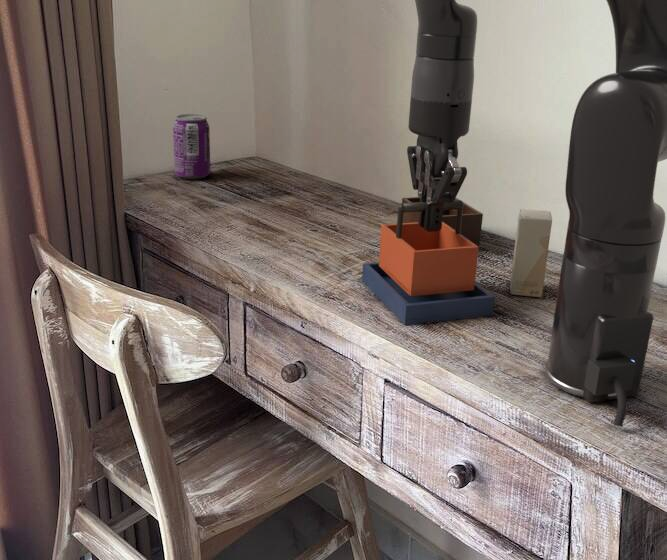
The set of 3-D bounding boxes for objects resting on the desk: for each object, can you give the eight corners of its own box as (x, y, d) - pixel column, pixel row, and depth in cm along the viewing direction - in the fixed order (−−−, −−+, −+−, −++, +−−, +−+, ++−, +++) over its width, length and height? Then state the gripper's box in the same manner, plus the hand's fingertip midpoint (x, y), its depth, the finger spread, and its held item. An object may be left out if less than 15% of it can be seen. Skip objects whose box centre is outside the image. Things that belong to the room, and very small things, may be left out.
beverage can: (217, 175, 165) (216, 116, 161) (194, 182, 160) (192, 121, 155) (191, 170, 169) (189, 112, 164) (167, 176, 163) (165, 117, 159)
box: (541, 298, 111) (552, 221, 107) (509, 295, 112) (519, 218, 107) (540, 284, 116) (551, 210, 112) (509, 281, 116) (519, 207, 112)
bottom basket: (479, 250, 129) (483, 213, 126) (427, 254, 126) (430, 217, 124) (448, 229, 138) (451, 194, 136) (399, 232, 135) (402, 197, 133)
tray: (492, 315, 105) (495, 296, 104) (404, 325, 101) (406, 306, 100) (441, 273, 119) (442, 256, 118) (361, 280, 115) (362, 263, 114)
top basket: (474, 290, 106) (483, 212, 102) (409, 296, 103) (416, 216, 99) (438, 260, 115) (445, 188, 111) (377, 265, 112) (382, 191, 108)
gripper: (392, 86, 105) (383, 215, 111) (437, 104, 93) (424, 247, 99) (444, 85, 107) (433, 211, 113) (495, 103, 95) (479, 243, 102)
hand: (429, 228), depth 106 cm, fingers closed on top basket, 1 cm apart
